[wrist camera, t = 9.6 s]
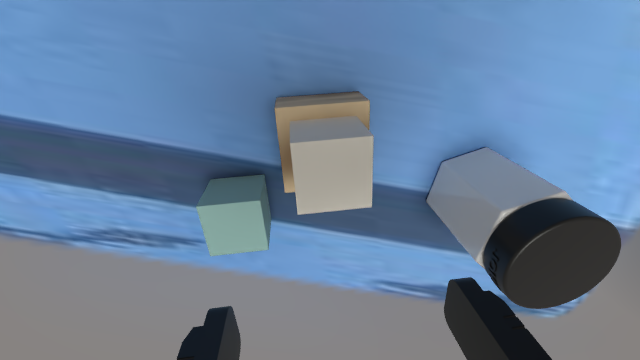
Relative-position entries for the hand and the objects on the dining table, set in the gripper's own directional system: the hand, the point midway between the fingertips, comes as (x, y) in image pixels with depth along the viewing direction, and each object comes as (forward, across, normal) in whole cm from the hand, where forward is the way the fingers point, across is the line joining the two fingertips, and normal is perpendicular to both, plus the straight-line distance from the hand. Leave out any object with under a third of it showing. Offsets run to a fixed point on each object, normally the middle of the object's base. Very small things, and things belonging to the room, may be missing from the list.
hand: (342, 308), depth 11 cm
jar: (+18, -16, +6) cm, 25 cm away
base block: (+18, -1, -1) cm, 18 cm away
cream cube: (+14, -1, -1) cm, 14 cm away
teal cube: (+18, +7, +5) cm, 20 cm away
